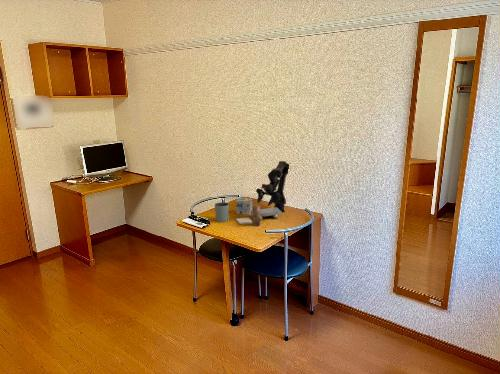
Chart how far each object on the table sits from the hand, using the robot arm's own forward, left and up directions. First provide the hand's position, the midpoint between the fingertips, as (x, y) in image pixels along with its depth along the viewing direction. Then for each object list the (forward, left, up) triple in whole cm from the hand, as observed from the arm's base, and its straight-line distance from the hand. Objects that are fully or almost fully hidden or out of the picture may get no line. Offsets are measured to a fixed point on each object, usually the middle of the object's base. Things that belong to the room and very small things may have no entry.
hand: (262, 204), depth 264 cm
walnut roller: (+6, +4, -13) cm, 15 cm away
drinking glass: (+26, -13, -13) cm, 32 cm away
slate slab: (-5, -8, -13) cm, 16 cm away
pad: (+12, -6, -13) cm, 19 cm away
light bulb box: (+7, -23, -13) cm, 28 cm away
